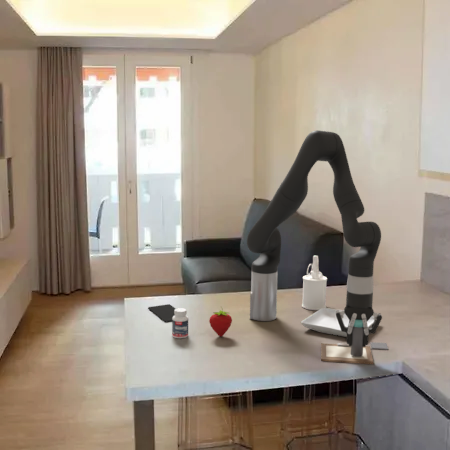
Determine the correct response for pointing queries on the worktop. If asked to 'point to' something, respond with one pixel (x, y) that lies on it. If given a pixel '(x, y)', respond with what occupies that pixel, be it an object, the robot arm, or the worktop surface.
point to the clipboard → (344, 354)
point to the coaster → (379, 345)
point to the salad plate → (328, 322)
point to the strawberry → (220, 322)
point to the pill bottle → (180, 323)
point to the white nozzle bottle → (314, 288)
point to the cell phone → (163, 312)
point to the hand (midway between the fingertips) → (357, 345)
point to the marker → (357, 338)
